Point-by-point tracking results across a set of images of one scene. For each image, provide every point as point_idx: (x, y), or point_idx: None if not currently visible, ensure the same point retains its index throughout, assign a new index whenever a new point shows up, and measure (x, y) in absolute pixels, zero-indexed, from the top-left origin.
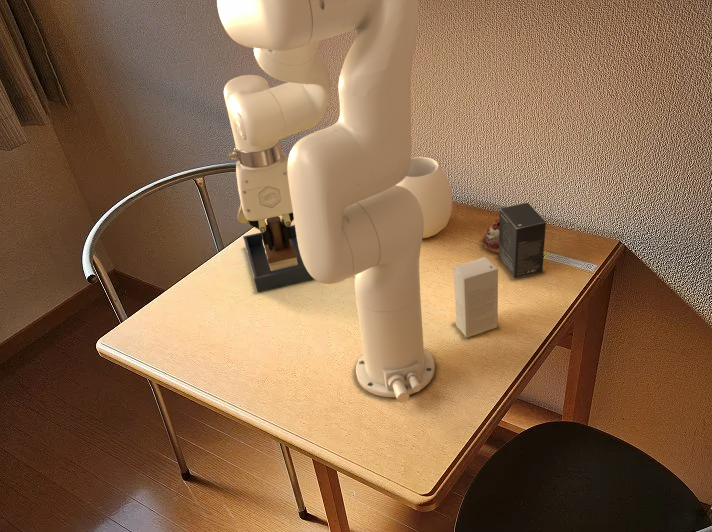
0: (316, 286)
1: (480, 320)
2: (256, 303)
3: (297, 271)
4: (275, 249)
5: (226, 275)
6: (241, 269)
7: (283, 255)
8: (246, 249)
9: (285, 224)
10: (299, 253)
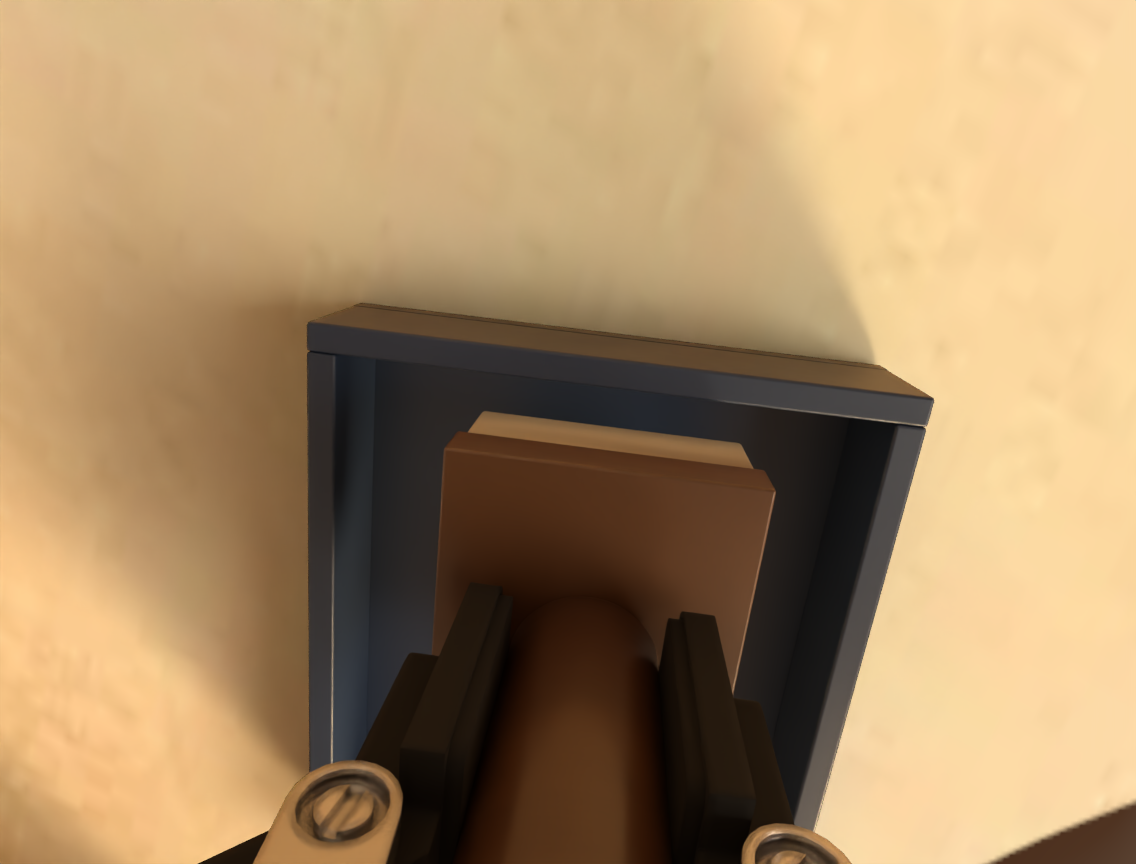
0: (418, 198)
1: None
2: (952, 213)
3: (513, 341)
4: (637, 619)
5: (996, 692)
6: (869, 704)
7: (591, 473)
8: None
9: (388, 809)
10: None
